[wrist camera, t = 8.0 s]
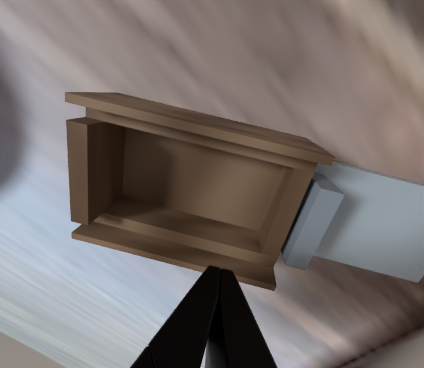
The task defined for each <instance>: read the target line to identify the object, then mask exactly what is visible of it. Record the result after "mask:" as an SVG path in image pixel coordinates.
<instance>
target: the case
mask: <svg viewBox="0 0 424 368" xmlns="http://www.w3.org/2000/svg"><path fill="white" fill-rule="evenodd" d="M65 102H68V103H72V104H76V105H81V106H85V107H86V117H83V118H76V119H69V120H66V126H67V146H68V167H69V188H70V209H71V221H73V222H77V223H81V224H82V225H80V226H79V227H78V228H77V229H75V230H74V231H73V232H72V238H73V239H77V240H81V241H85V242H88V243H92V244H96V245H100V246H104V247H108V248H111V249H115V250H119V251H123V252H127V253H131V254H134V255H138V256H142V257H146V258H150V259H154V260H157V261H161V262H165V263H169V264H173V265H177V266H180V267H184V268H188V269H192V270H196V271H200V272H204V271H205V269H206V268H207V267H208V266H209V265H213V266H217V267H220V269H221V268H226V269H230V270H232V271H233V272H234V274H235V276H236V278H237V281H238V282H242V283H246V284H249V285H253V286H257V287H261V288H265V289H269V290H272V291H274V290H275V288H276V281H275V275H274V270H273V267H274V265H275V262H276V260H277V258H278V255H279V253H280V251H281V248H282V246H283V244H284V241H285V239H286V237H287V234H288V232H289V230H290V227H291V225H292V223H293V220H294V218H295V216H296V213H297V211H298V209H299V206H300V204H301V202H302V199H303V197H304V195H305V192H306V190H307V188H308V185H309V183H310V181H311V178H312V176H313V174H314V171H315V169H316V167H317V164H318V163H319V164H323V165H328V166H332V164H333V161H334V159H335V157H334V156H332V155H331V154H329V153H328V152H326V151H325V150H323V149H322V148H320V147H319V146H317V145H316V144H314V143H313V142H311V141H310V140H308V139H307V138H303V137H299V136H295V135H291V134H287V133H283V132H278V131H274V130H270V129H266V128H262V127H258V126H253V125H249V124H245V123H241V122H237V121H233V120H229V119H224V118H220V117H216V116H212V115H208V114H204V113H199V112H195V111H191V110H187V109H183V108H179V107H174V106H170V105H166V104H162V103H158V102H154V101H149V100H145V99H141V98H137V97H133V96H129V95H124V94H120V93H93V92H65Z"/></svg>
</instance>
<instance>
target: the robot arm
mask: <svg viewBox="0 0 424 368" xmlns="http://www.w3.org/2000/svg"><path fill="white" fill-rule="evenodd" d="M206 344H207V345H206ZM205 348H206V361H205V368H277V366H276V363H275V361H274V359H273V357H272V355H271V353H270V350H269V348H268V346H267V344H266V342H265V339H264V337H263V335H262V333H261V331H260V329H259V326H258V324H257V322H256V320H255V318H254V316H253V313H252V311H251V309H250V307H249V305H248V302H247V300H246V298H245V296H244V294H243V292H242V289H241V287H240V285H239V283H238V281H237V278H236V276H235V274H234V272H233V271H232V270H230V269H226V268H221V269H220V267H217V266H213V265H209V266H208V267H207V268H206V269H205V271H204V272H203V273H202V275H201V276H200V277H199V279H198V280H197V281H196V283H195V284H194V285H193V286H192V288H191V289H190V290H189V292H188V293H187V294H186V296H185V297H184V298H183V300H182V301H181V302H180V303H179V305H178V306H177V307H176V309H175V310H174V311H173V313H172V314H171V315H170V317H169V318H168V319H167V320H166V322H165V323H164V324H163V326H162V327H161V328H160V330H159V331H158V332H157V333H156V335H155V336H154V337H153V339H152V340H151V341H150V343H149V344H148V346H147V347H146V348H145V349H144V350H143V352H142V353H141V354H140V355H139V357H138V358H137V359H136V361H135V362H134V363H133V364H132V366H131V367H130V368H200V367H201V363H202V359H203V355H204V352H205Z"/></svg>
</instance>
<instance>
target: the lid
mask: <svg viewBox="0 0 424 368" xmlns="http://www.w3.org/2000/svg"><path fill="white" fill-rule="evenodd" d="M281 251H282V255H283V259H284V262H285V265H287V266H291V267H295V268H298V269H302V270H306V268H307V266H308V265H309V263H310V261H311V259H312V257H313V256H317V257H320V258H324V259H328V260H332V261H336V262H340V263H343V264H347V265H351V266H355V267H359V268H363V269H366V270H370V271H374V272H378V273H382V274H386V275H390V276H393V277H397V278H401V279H405V280H409V281H413V282H416V283H418V282H419V281H420V280H421V278H422V277H423V276H424V184H422V183H418V182H414V181H410V180H406V179H402V178H398V177H394V176H390V175H386V174H382V173H378V172H374V171H370V170H366V169H362V168H358V167H354V166H350V165H346V164H342V163H338V162H334V161H333V164H332V166H328V165H323V164H319V163H318V164H317V167H316V169H315V171H314V174H313V176H312V178H311V181H310V183H309V185H308V188H307V190H306V192H305V195H304V197H303V199H302V202H301V204H300V206H299V209H298V211H297V213H296V216H295V218H294V220H293V223H292V225H291V227H290V230H289V232H288V234H287V237H286V239H285V241H284V244H283V246H282V248H281Z"/></svg>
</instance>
